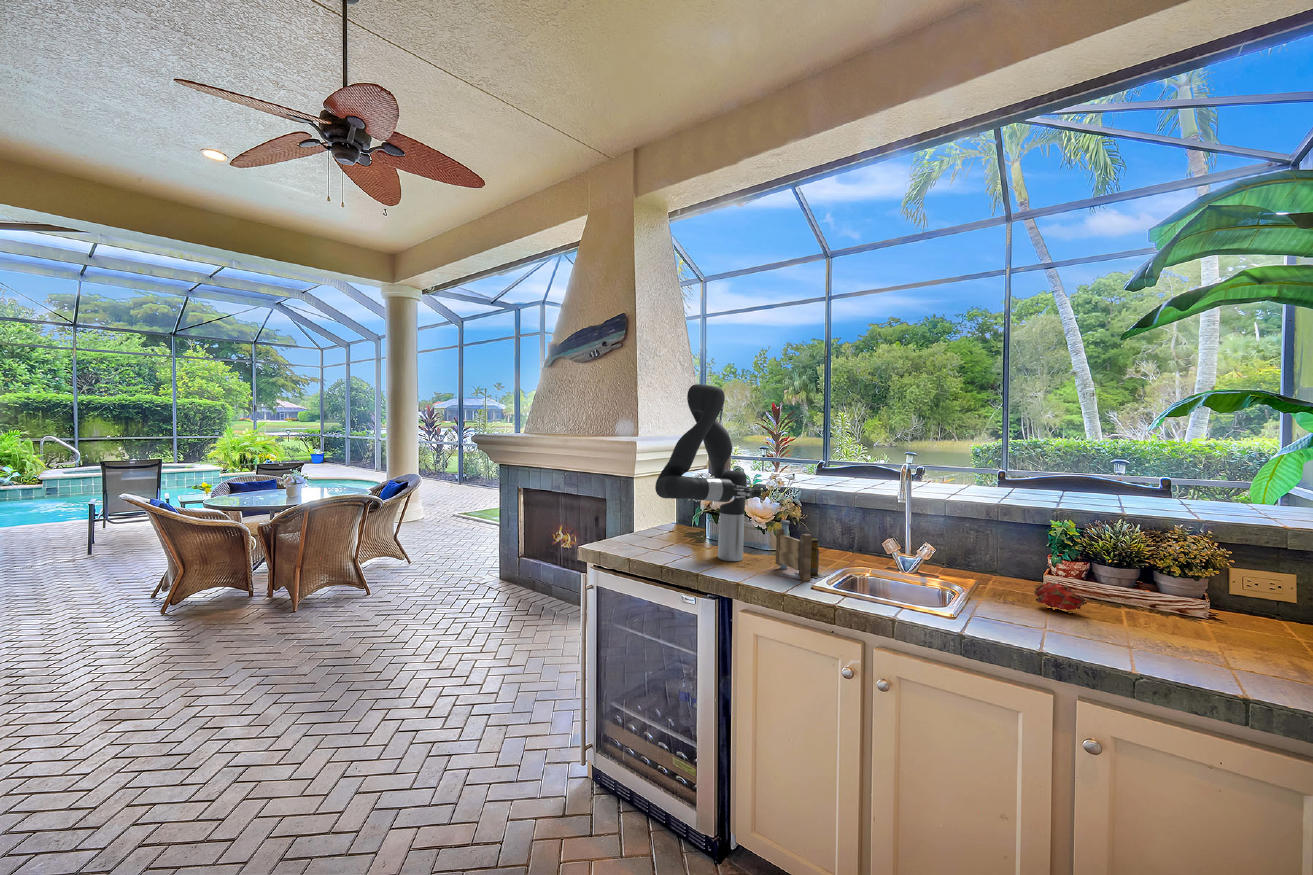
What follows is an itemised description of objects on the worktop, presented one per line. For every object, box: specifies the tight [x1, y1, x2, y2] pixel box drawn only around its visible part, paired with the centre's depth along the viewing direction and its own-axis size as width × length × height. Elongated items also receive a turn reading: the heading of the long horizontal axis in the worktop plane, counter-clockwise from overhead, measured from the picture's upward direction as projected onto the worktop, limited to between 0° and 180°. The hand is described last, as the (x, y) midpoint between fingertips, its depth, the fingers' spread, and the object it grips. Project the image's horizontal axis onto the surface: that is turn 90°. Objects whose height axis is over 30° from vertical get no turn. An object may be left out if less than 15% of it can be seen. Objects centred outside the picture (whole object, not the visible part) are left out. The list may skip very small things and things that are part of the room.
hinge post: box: [799, 533, 813, 583], centre depth 171 cm, size 2×2×15 cm
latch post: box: [779, 519, 791, 570], centre depth 186 cm, size 3×3×17 cm
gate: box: [775, 528, 801, 577], centre depth 179 cm, size 14×2×13 cm, turn 20°
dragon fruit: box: [1033, 581, 1088, 611], centre depth 148 cm, size 8×8×12 cm
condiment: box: [794, 537, 828, 579], centre depth 179 cm, size 7×8×12 cm
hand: (759, 492), depth 175 cm, fingers closed
